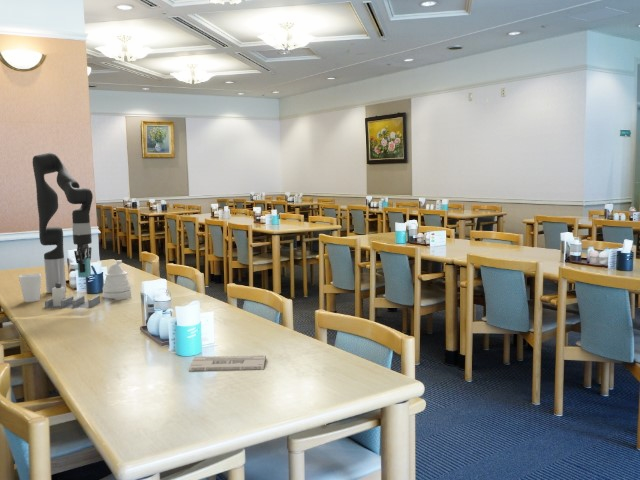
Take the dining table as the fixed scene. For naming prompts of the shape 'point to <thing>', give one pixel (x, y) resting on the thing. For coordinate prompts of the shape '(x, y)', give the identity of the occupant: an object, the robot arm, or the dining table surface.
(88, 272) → the teal plug
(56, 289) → the white plug
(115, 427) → the dining table surface
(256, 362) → the newspaper
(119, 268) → the honey pot
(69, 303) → the comb board
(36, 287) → the foam cup
